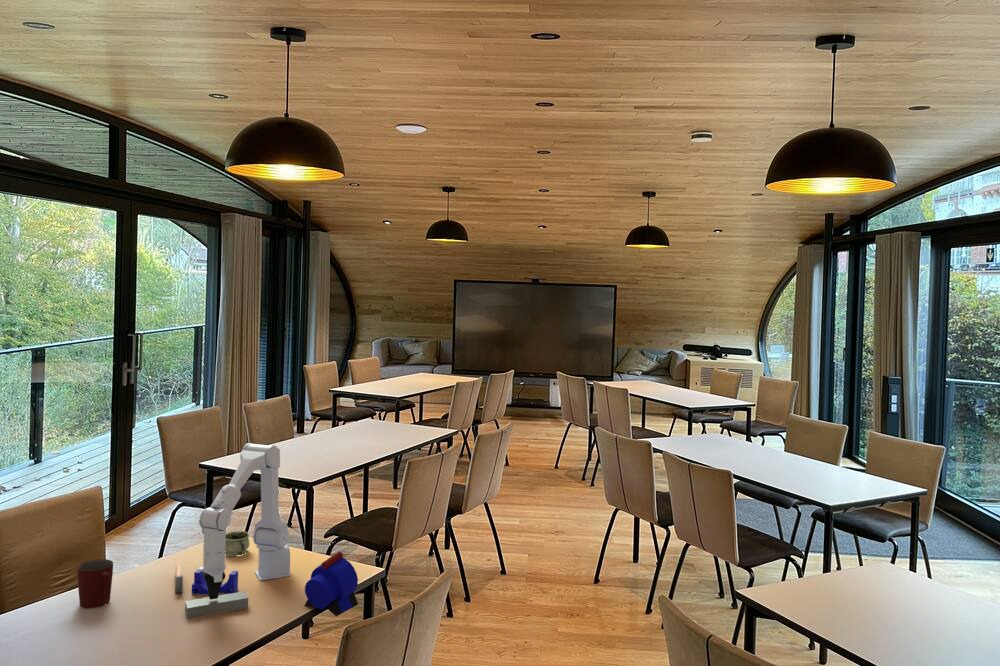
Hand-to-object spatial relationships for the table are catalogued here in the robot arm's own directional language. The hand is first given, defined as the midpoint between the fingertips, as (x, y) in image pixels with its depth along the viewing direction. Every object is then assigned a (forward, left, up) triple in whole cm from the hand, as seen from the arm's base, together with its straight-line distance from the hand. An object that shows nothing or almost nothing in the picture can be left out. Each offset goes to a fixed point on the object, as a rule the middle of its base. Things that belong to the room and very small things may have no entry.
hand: (213, 598), depth 202 cm
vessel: (-14, -44, -4) cm, 46 cm away
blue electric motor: (-30, +10, -4) cm, 32 cm away
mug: (+28, -18, -4) cm, 33 cm away
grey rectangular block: (-1, 0, -4) cm, 4 cm away
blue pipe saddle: (-2, -13, -4) cm, 14 cm away
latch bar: (+6, -24, -3) cm, 25 cm away
